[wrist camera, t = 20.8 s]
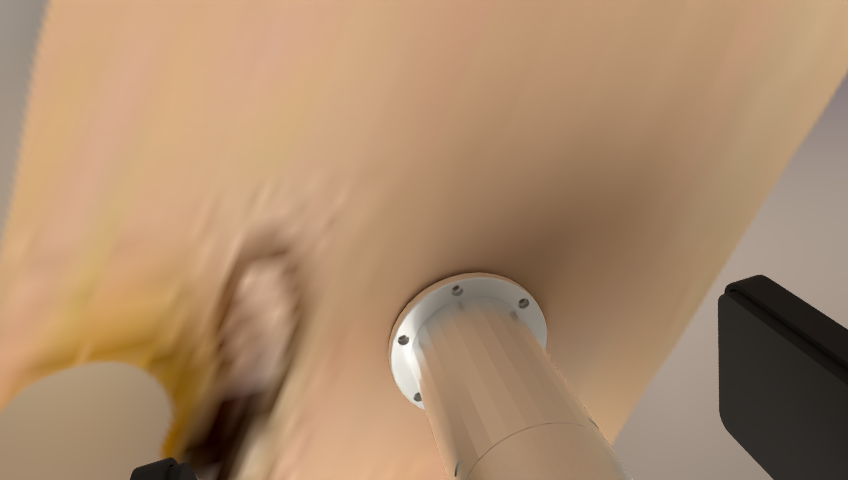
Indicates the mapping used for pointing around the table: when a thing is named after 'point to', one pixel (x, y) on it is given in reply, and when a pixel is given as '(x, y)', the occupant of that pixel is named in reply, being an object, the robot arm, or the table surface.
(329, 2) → the table surface
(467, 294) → the robot arm
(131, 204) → the table surface
